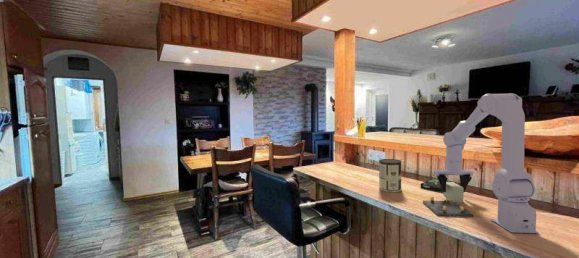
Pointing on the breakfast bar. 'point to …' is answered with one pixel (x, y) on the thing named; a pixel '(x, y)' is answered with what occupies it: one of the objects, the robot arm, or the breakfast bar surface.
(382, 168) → the coffee can
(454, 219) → the breakfast bar surface
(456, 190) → the block
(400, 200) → the breakfast bar surface
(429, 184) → the disk drive
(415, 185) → the breakfast bar surface
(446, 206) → the plate
